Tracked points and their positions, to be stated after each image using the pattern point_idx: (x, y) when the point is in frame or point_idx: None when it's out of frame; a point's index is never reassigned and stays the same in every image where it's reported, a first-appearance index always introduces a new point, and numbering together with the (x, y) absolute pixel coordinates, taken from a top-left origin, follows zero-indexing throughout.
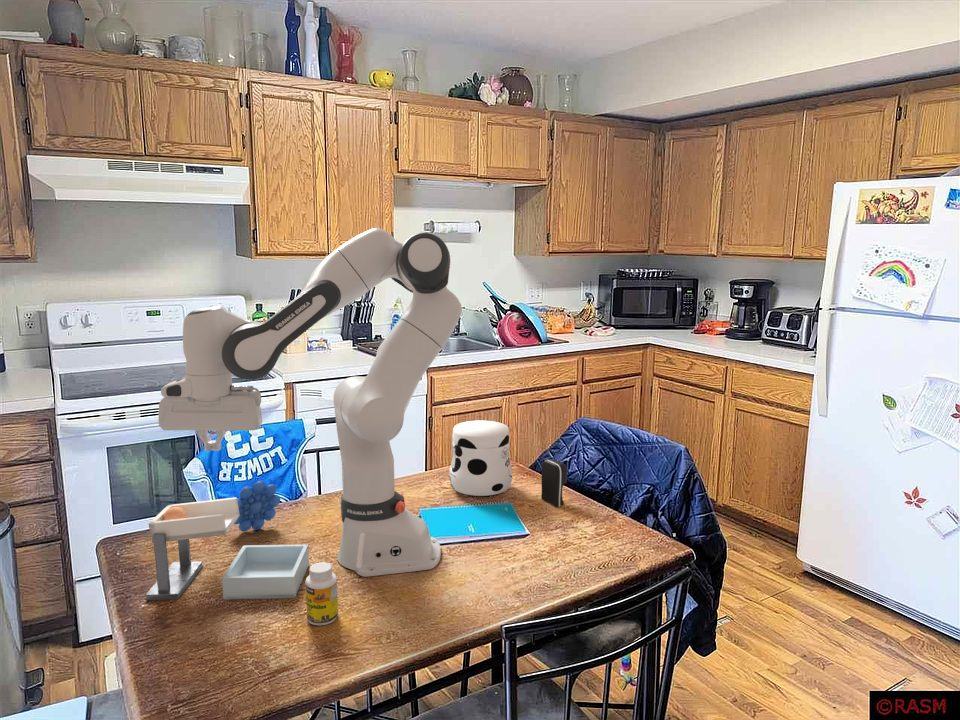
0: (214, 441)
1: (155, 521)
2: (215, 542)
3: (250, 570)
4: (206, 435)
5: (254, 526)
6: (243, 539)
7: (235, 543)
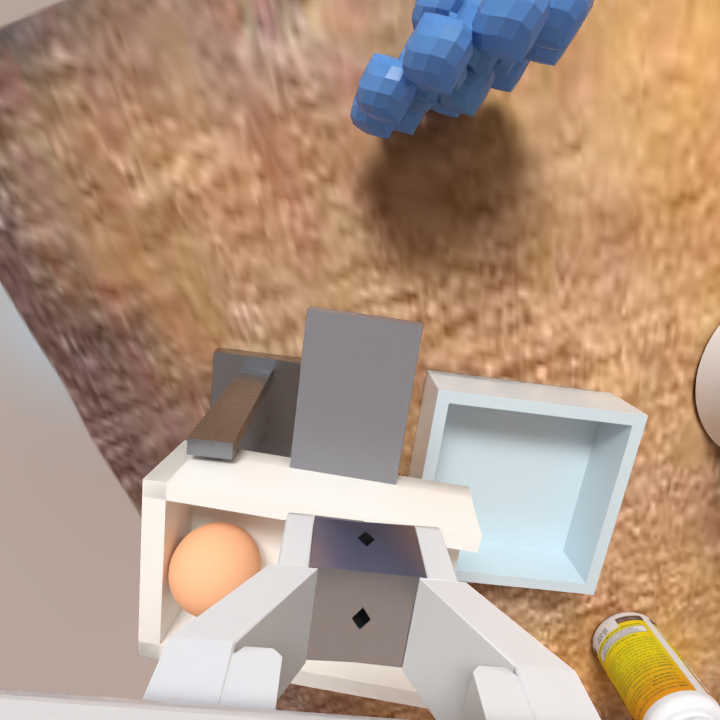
0: (381, 608)
1: (159, 645)
2: (305, 186)
3: (452, 429)
4: (264, 629)
5: (436, 111)
6: (399, 178)
7: (376, 207)
